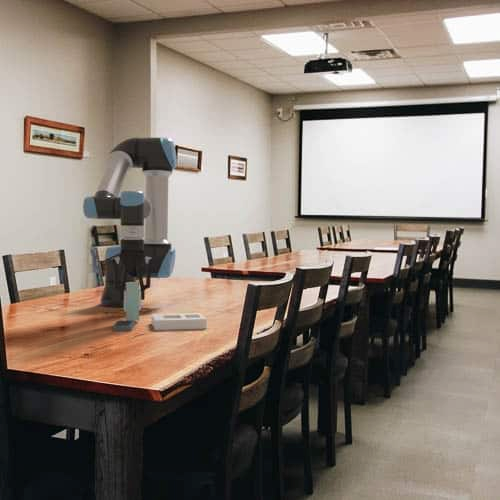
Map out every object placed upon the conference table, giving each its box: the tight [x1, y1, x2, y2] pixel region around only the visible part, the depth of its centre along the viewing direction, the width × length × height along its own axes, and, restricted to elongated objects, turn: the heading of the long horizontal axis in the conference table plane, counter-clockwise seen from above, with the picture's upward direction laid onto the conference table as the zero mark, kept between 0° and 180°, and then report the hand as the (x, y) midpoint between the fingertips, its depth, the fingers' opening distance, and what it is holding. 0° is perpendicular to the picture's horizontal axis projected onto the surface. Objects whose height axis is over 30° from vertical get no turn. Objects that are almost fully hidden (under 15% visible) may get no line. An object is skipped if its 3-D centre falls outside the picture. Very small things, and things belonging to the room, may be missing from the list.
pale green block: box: [125, 281, 140, 322], centre depth 212 cm, size 4×4×12 cm
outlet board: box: [150, 312, 208, 331], centre depth 207 cm, size 12×16×3 cm
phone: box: [112, 320, 136, 332], centre depth 202 cm, size 10×6×2 cm, turn 3°
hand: (132, 309), depth 213 cm, fingers closed on pale green block, 4 cm apart
